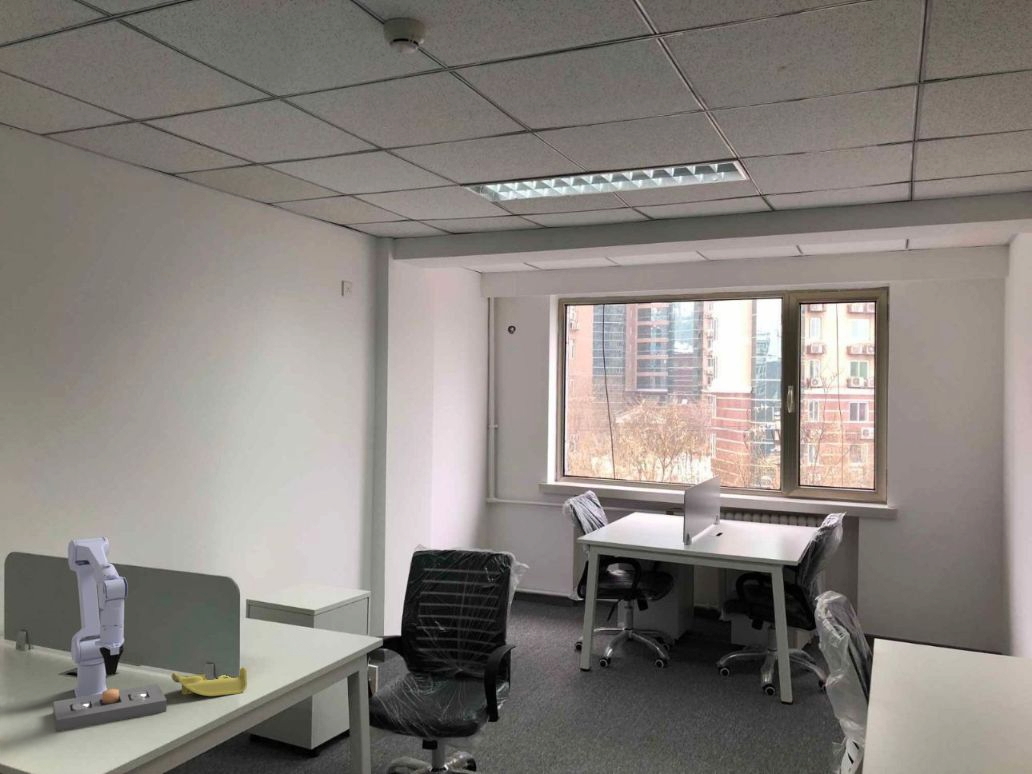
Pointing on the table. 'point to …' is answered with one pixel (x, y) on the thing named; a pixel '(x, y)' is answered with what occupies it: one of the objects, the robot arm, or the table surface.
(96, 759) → the table surface
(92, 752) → the table surface
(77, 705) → the plunger
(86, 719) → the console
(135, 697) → the plunger
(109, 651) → the robot arm
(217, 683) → the plastic component
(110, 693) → the orange plunger
